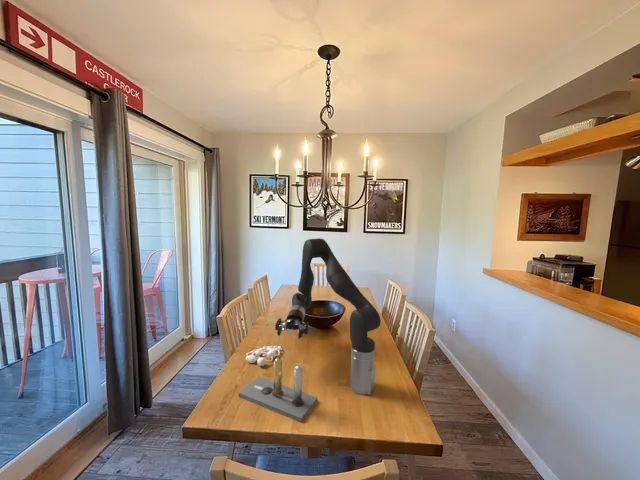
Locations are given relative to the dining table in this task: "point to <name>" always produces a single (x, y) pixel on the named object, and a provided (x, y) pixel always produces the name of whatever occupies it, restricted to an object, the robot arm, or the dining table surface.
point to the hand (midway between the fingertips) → (289, 335)
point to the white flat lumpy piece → (261, 360)
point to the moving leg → (277, 378)
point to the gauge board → (278, 399)
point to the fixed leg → (298, 385)
